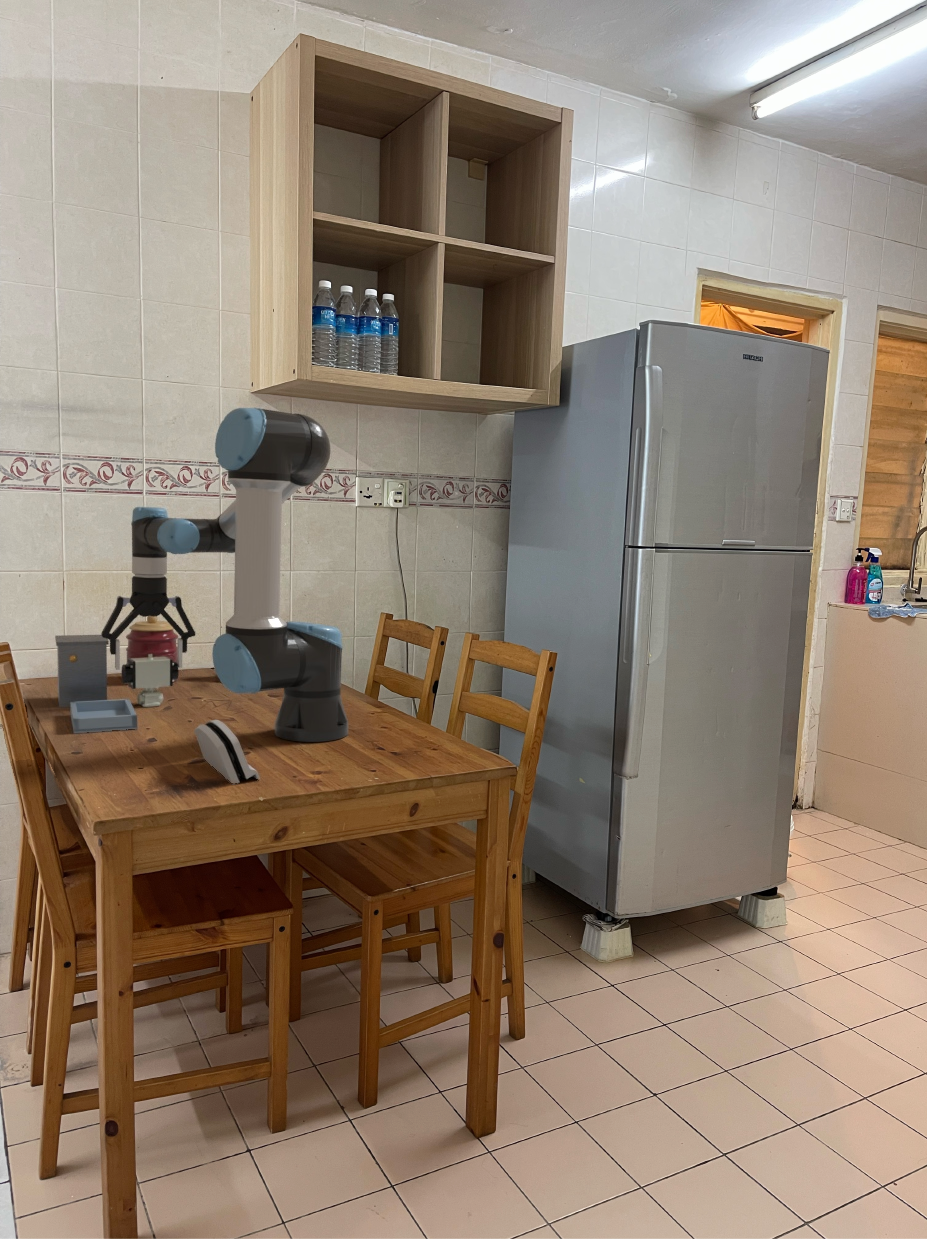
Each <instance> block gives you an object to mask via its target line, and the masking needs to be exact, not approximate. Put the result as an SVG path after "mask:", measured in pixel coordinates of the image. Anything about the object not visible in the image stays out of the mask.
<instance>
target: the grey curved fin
mask: <svg viewBox="0 0 927 1239" xmlns="http://www.w3.org/2000/svg"><path fill="white" fill-rule="evenodd" d="M194 733H195V737H196V739H197V742H198V745H199V748H200V751H201V755H202V757H203V760H204V759H205V760H206V761H207V762H208V763H209V764H210V765H209V764H208V763H207V762H206V761H205V760H204V761H205V762H206V763H207V764H208V765H209V766H211V767H212V766H213V767H214V768H215V769H216V770H217V771H216V770H215V769H214V768H213V767H212V768H213V769H214V770H215V771H216V772H218V771H219V772H220V773H221V774H222V775H223V776H224V777H225V778H224V777H223V776H222V775H221V774H220V773H219V772H218V773H219V774H220V775H221V776H222V777H223V778H224V779H226V778H227V779H228V780H229V781H230V782H231V783H237V784H239V783H240V781H241V780H242V779H246V780H248V779H249V778H251V777H253V776H254V777H255V778H256V779H261V777H260V774H259V772H258V770H256V769H255V768H254V767H252V765H250V764H248V761H247V758H246V755H245V753H244V751H243V749H242V746H241V744H240V741H239V739H238V737H237V736H236V735H235V733H233V730H231V729H230V728H229V727H228V726H227V725H226V724H225V723H224V722H223V721H221V720H219V719H213V720H208V721H207V722H206V724H200V725H198V726H197V727H195V728H194ZM254 777H253V778H254ZM241 778H242V779H241ZM255 778H254V779H255ZM227 779H226V780H227ZM256 779H255V780H256ZM228 780H227V781H228ZM229 781H228V782H229ZM230 782H229V783H230ZM231 783H230V784H231Z"/></svg>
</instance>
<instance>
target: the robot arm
mask: <svg viewBox="0 0 927 1239" xmlns="http://www.w3.org/2000/svg"><path fill="white" fill-rule="evenodd" d="M214 452H215V453H214V454H215V457H216V458H217V463H218V464H219V466H220V467H221V468H222V469H224V470H226V471H227V481H228V482H229V483H230V484H231V486H233V487H234V489H235V499H234V500H233V501H232V503H231V504H229V506H228V507H227V508H226V509H225V510H223V512H222V513H221V514H219V515H218V516H217V518H183V517H182V518H177V517H169V516H168V511H167V509H166V508H164V507H152V506H150V507H149V506H137V507H134V508H133V510H132V514H131V515H132V518H131V520H132V521H131V573H132V574H133V576H132V577H131V596H130V597H122V596H121V595H118V596H117V597H116V602H115V603H116V604H115V606H114V609H113V610H112V612H111V614H110V616H109V618H108V619H107V621H106V623H105V625H104V627H103V629H102V631H101V633H100V635H102V637H103V638H106V639H108V641H109V652H110V655H114V669H115V670H116V671H117V670H118V671H119V670H121V669H120V665H121V662H120V661H121V660H120V654H121V653H120V652H121V648H120V647H121V646H120V645H121V641H120V639H119V638H118V637H120V636H121V635H122V634H123V632H124V631H125V630H126V629H127V628H128V627H130V624H131V623H133V621H134V620H135V619H136V618H138V616H141V617H142V618H143V617H145V618H146V617H148V616H153V617H157V618H158V616H160V615H161V616H162V617H163V618H164V619H165V621H166V622H168V623H169V624H170V625H171V626H172V627H173V628H174V629H173V630H175V633H176V632H177V633H176V634H177V635H178V636H180V637H178V638H177V639H176V645H177V664H178V669H181V668H183V654H185V653H187V652H188V639H189V638H192V637H195V636H196V631H195V629H194V627H193V625H192V624H191V622H190V620H189V617H188V616H187V614H186V612H185V610H184V608H183V604H182V598H181V597H180V596H178V595H175V596H174V597H168V592H167V591H168V587H167V586H168V578H167V577H166V576H165V575H167V574H168V553H170V554H172V555H187V554H189V553H190V554H191V553H196V554H197V553H199V554H201V553H202V554H203V553H228V554H234V585H233V586H234V590H233V591H234V593H233V595H234V596H233V598H234V599H233V600H234V601H233V602H234V603H233V615H232V616H231V617H230V618H229V619H227V621H226V622H225V633H222V634H221V635H219V636H218V637H217V638H216V639H215V642H214V643H213V646H212V662H213V668H214V670H215V673H216V676H217V678H218V679H219V681H220V682H221V684H222V685H223V686H224V688H226V689H227V690H228V691H229V692H231V693H234V694H241V695H242V694H252V695H253V694H256V693H257V694H258V693H260V692H267V691H272V690H280V689H283V698H282V701H281V704H280V707H279V710H278V713H277V716H276V718H275V721H274V735H275V736H276V737H278V738H279V739H283V740H286V741H291V742H292V741H293V742H300V743H301V742H302V743H317V742H318V743H319V742H321V743H322V742H329V741H335V740H339V739H342V738H345V737H347V736H348V735H349V720H348V717H347V714H346V711H345V707H344V705H343V701H342V696H341V695H342V693H341V692H342V691H341V688H342V652H343V644H342V639H343V638H342V631H341V630H340V629H339V628H338V627H336V626H332V625H328V624H327V625H326V624H320V623H312V622H303V621H302V622H301V621H292V620H291V621H286V620H284V619H283V618H282V617H281V614H280V599H281V598H280V596H281V595H280V590H281V553H282V551H281V550H282V547H281V546H282V508H283V504H284V503H285V502H287V500H288V499H289V498H291V497H292V495H293V494H295V493H296V492H297V491H298V490H299V489H300V488H305V487H309V486H310V485H312V484H313V483H314V482H315V481H317V479H318V478H319V477H320V476H321V475H322V474H323V473H324V471H325V470H326V468H327V466H328V463H329V461H330V457H331V443H330V439H329V436H328V434H327V432H326V430H325V429H324V427H323V426H322V425H321V424H320V422H318V421H317V420H316V419H314V418H313V417H310V416H308V415H305V414H302V413H293V412H292V413H291V412H284V411H279V410H271V409H264V408H257V407H252V408H251V407H237V408H235V409H232V410H231V411H229V412H228V413H226V415H225V417H224V418H223V420H222V421H221V423H220V424H219V426H218V430H217V433H216V436H215V443H214ZM169 603H170V604H171V606H172V607H175V610H176V611H177V613H178V615H179V617H180V619H181V621H182V623H183V624H184V627H185V629H186V630H187V631H184V630H183V629H182V628H181V626H179V624H177V622H176V621H175V620H174V619H173V618H172V616H171V615H170V614H169V613H168V612H167V611H166V610H165V609H166V607H167V606H168V605H169ZM128 604H130V605H131V607H133V609H132V610H131V611H130V612H129V613H128V615H127V616H126V617H125V618H124V619H123V620H122V622H120V623H119V625H118V626H116V628H115V629H114V630H113V631H112V632H111V630H112V629H113V627H114V625H115V624H116V621H117V619H118V617H119V616H120V614H121V613H122V610H123V607H124V608H125V607H126V606H127V605H128Z"/></svg>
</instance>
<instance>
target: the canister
mask: <svg viewBox="0 0 927 1239" xmlns="http://www.w3.org/2000/svg"><path fill="white" fill-rule="evenodd" d="M128 627H129V629H130V632H129V633H128V634H126V636H125V639H126V640H127V647H126V648H125V651H126V663H128V659H130V658H148V654H152V657H166V656H167V657H169V658H171V659H172V660H173V661H176V662H177V638H179V634H178V633H176V632H175V631H174V630H175V629H174V628H173V627H172V626H171V625H170V624H169V623H168V622H167V621H166V620H165V621H164V620H159V619H158V616H157V617H153V616H147V618H146V620H141V621H136V622H134V623H133V624H132V625H129V626H128ZM176 681H177V680H174V682H176Z"/></svg>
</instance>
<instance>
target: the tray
mask: <svg viewBox="0 0 927 1239" xmlns="http://www.w3.org/2000/svg"><path fill="white" fill-rule="evenodd" d="M69 708H70V709H69V710H70V712H69V713H70V721H71V726H72V730H73V734H85V733H87V732H89V733H101V732H102V731H105V732H113V731H112V730H120V731H129V730H128V729H135V730H138V714H137V713H136V710H135V708H134V706H133V705H132V702H131V700H130V699H129V698H121V699H120V698H119V699H107V700H97V701H78V702H70V707H69ZM126 729H127V730H126Z"/></svg>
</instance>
